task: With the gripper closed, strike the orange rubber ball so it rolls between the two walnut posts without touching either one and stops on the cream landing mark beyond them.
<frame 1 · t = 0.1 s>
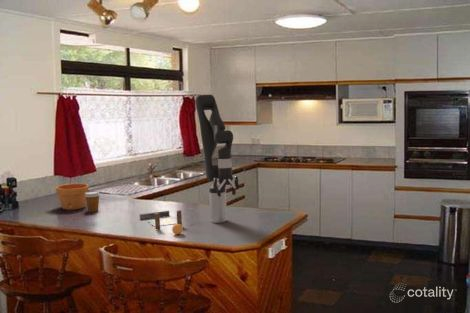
hand: (226, 195, 297), 17 cm above the worktop, tool pointing down, fingers open, 8 cm apart
ball: (177, 229, 284), on the worktop
flower pot: (73, 207, 363), on the worktop
disposable coffee cup: (93, 210, 350), on the worktop
post 2: (179, 226, 301), on the worktop
stopper wall: (154, 217, 325), on the worktop
post 1: (157, 229, 296), on the worktop
landing mark: (161, 222, 312), on the worktop
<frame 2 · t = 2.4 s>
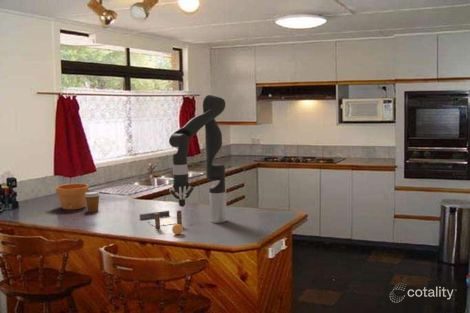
hand: (182, 206, 274), 17 cm above the worktop, tool pointing down, fingers closed
nothing on the worktop moved.
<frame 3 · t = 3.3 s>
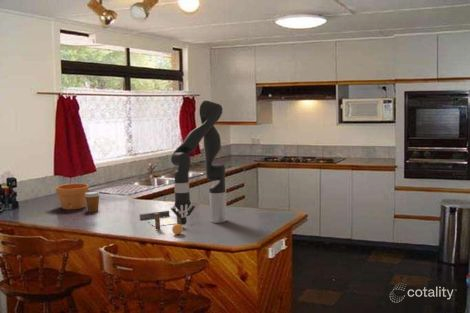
hand: (183, 224, 274), 8 cm above the worktop, tool pointing down, fingers closed
nothing on the worktop moved.
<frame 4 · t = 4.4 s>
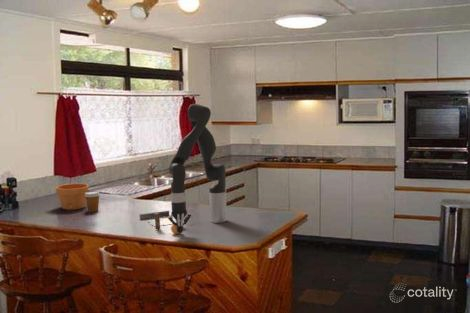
hand: (180, 232, 283), 1 cm above the worktop, tool pointing down, fingers closed
ball: (176, 228, 286), on the worktop, touching gripper
everything else where it was.
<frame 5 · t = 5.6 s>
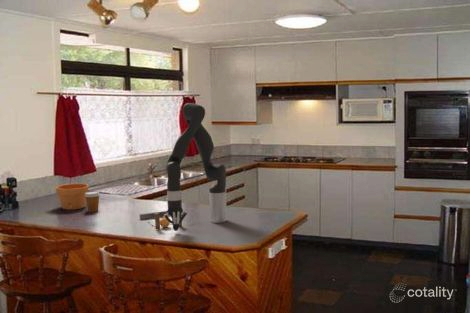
hand: (175, 230, 287), 2 cm above the worktop, tool pointing down, fingers closed
ball: (164, 222, 300), on the worktop
everything else where it was.
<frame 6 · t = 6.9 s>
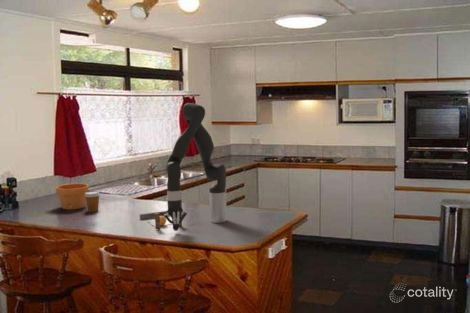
hand: (175, 230, 287), 2 cm above the worktop, tool pointing down, fingers closed
ball: (161, 220, 304), on the worktop
everything else where it was.
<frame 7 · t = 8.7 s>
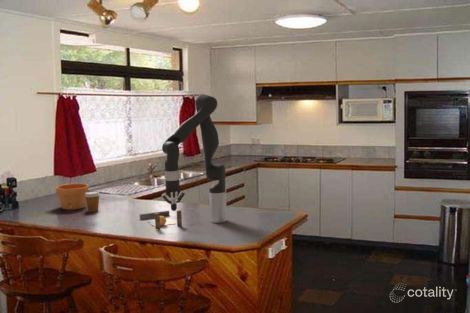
hand: (174, 210, 287), 12 cm above the worktop, tool pointing down, fingers closed
nothing on the worktop moved.
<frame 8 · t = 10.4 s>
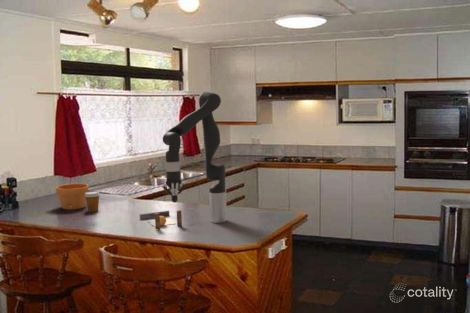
hand: (174, 202, 285), 17 cm above the worktop, tool pointing down, fingers closed
nothing on the worktop moved.
at the end: ball 7.0 cm from the landing mark (horizontally); ball never touched post 2; ball never touched post 1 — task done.
